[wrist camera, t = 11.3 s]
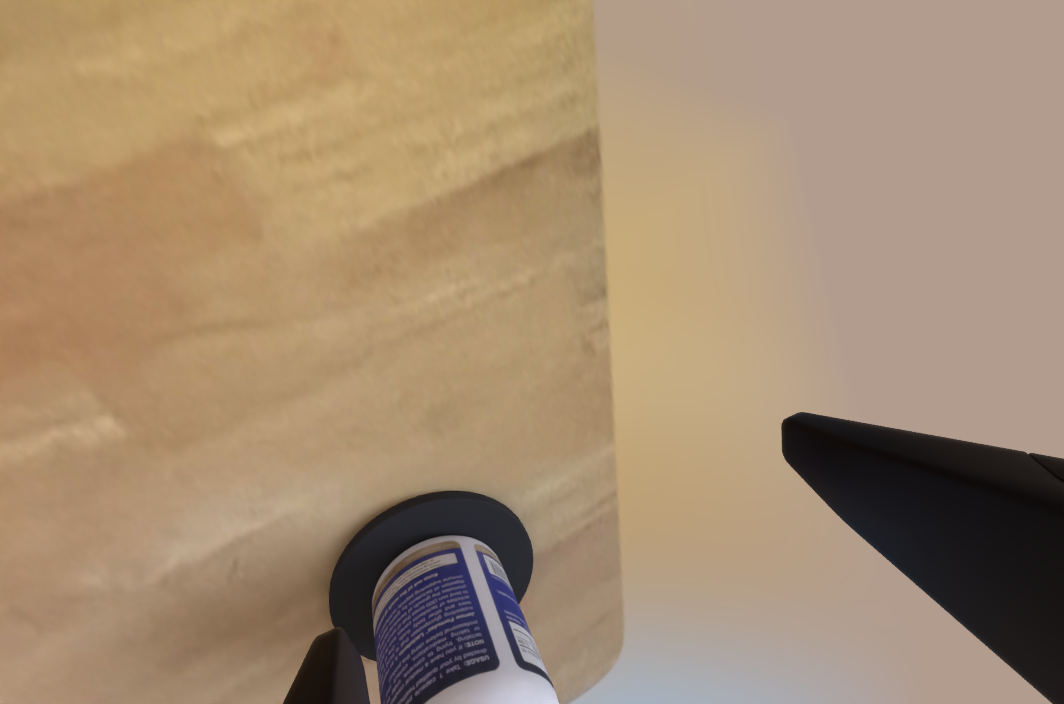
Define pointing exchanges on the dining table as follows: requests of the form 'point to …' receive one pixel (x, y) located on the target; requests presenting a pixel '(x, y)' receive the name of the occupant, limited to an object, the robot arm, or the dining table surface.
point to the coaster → (409, 528)
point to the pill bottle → (454, 630)
